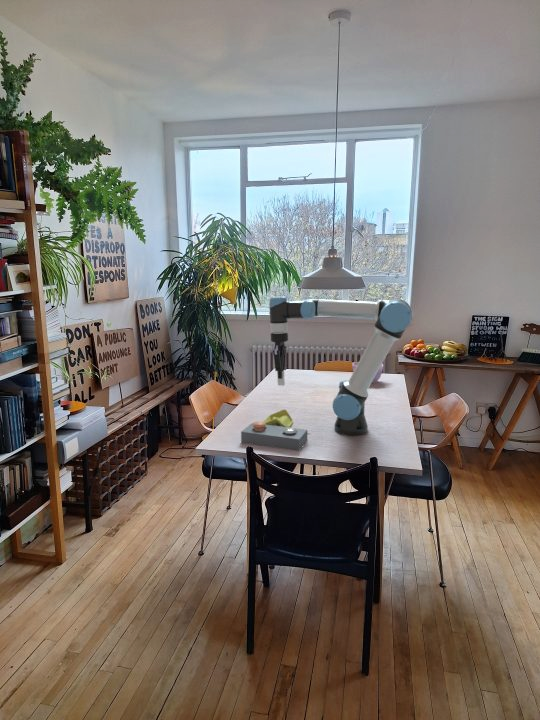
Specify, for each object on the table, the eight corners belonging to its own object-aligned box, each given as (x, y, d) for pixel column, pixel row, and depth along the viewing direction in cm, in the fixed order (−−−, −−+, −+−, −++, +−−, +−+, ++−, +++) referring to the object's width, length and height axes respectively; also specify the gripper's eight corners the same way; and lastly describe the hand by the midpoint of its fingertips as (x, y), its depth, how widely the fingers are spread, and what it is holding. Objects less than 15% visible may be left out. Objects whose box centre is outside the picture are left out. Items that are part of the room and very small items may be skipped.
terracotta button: (267, 435, 204) (267, 422, 203) (263, 439, 199) (262, 426, 198) (256, 433, 206) (255, 420, 205) (251, 437, 201) (250, 424, 200)
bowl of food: (388, 381, 303) (389, 364, 300) (373, 387, 288) (374, 369, 286) (361, 376, 316) (362, 360, 313) (345, 382, 301) (346, 364, 299)
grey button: (298, 441, 199) (298, 428, 198) (294, 446, 194) (294, 432, 193) (285, 439, 201) (285, 426, 200) (281, 444, 196) (281, 431, 195)
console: (307, 440, 201) (307, 429, 200) (298, 450, 190) (299, 439, 189) (252, 433, 210) (252, 422, 209) (241, 442, 199) (241, 431, 198)
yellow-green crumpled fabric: (269, 415, 229) (287, 407, 226) (275, 428, 229) (293, 421, 226) (259, 425, 210) (278, 417, 207) (266, 440, 210) (285, 432, 207)
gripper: (275, 330, 208) (277, 381, 213) (266, 334, 196) (268, 388, 201) (291, 330, 206) (293, 381, 211) (283, 334, 194) (285, 389, 198)
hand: (281, 385), depth 206 cm, fingers closed
